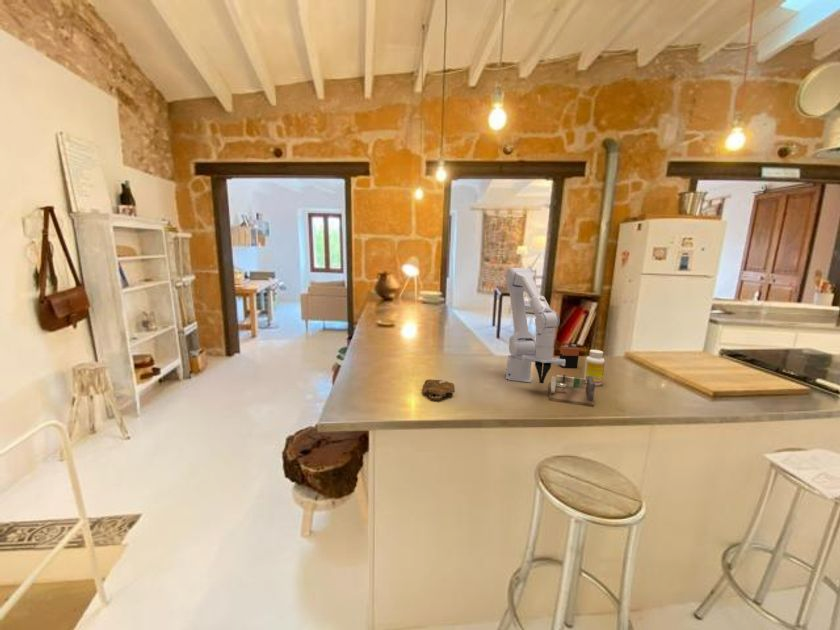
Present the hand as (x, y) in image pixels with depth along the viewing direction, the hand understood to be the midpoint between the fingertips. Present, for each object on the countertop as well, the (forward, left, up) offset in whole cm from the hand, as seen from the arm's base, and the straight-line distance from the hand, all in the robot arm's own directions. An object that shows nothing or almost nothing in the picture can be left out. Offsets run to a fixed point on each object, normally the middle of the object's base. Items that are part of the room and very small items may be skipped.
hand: (541, 382), depth 136 cm
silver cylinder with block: (+6, +2, -2) cm, 7 cm away
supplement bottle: (+19, +18, -4) cm, 27 cm away
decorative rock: (-34, -15, -4) cm, 37 cm away
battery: (+11, +36, -4) cm, 38 cm away
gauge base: (+10, +1, -4) cm, 11 cm away
